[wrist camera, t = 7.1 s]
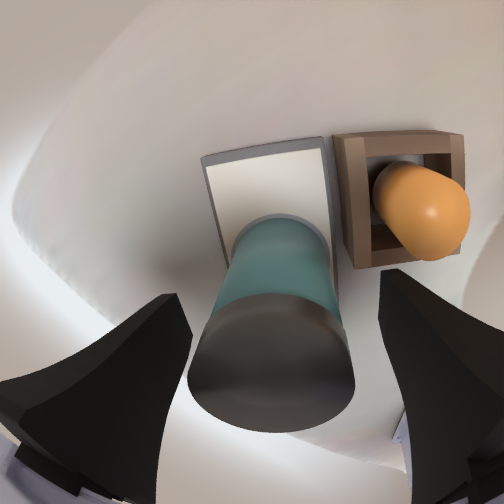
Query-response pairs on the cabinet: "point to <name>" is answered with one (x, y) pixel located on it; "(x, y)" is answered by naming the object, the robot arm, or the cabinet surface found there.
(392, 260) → the button collar
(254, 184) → the drawing pad
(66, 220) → the cabinet surface
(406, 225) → the button
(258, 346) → the cylinder
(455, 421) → the robot arm
